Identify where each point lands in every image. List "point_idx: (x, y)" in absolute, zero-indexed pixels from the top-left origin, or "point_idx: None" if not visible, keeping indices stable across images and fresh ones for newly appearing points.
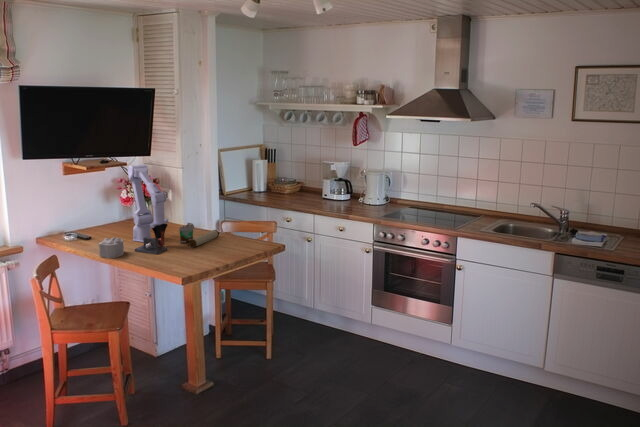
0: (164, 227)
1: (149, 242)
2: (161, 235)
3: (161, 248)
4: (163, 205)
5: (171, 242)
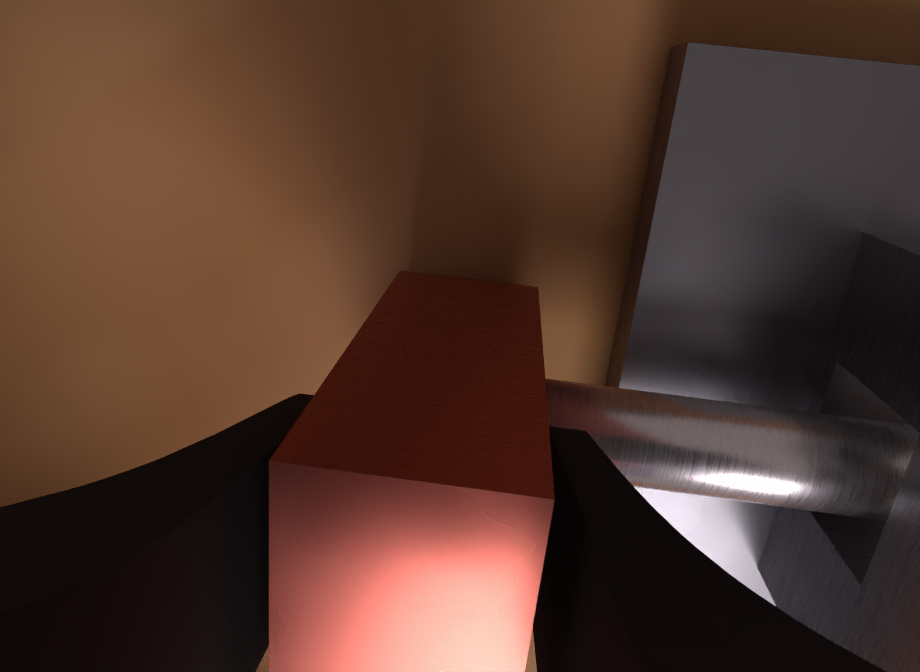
0: (123, 591)
1: (848, 559)
2: (531, 412)
3: (857, 139)
4: None
5: (48, 274)
